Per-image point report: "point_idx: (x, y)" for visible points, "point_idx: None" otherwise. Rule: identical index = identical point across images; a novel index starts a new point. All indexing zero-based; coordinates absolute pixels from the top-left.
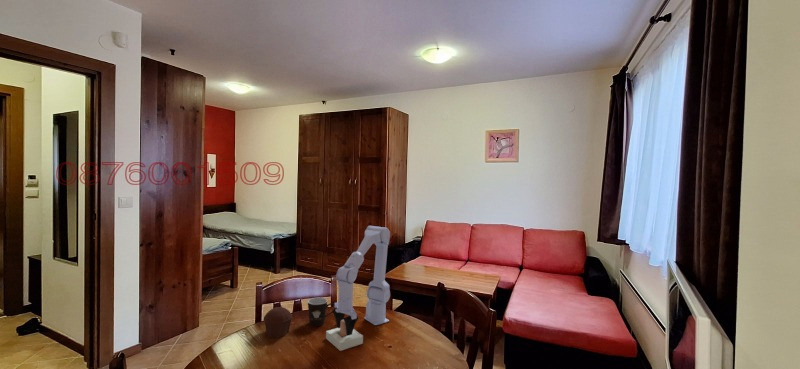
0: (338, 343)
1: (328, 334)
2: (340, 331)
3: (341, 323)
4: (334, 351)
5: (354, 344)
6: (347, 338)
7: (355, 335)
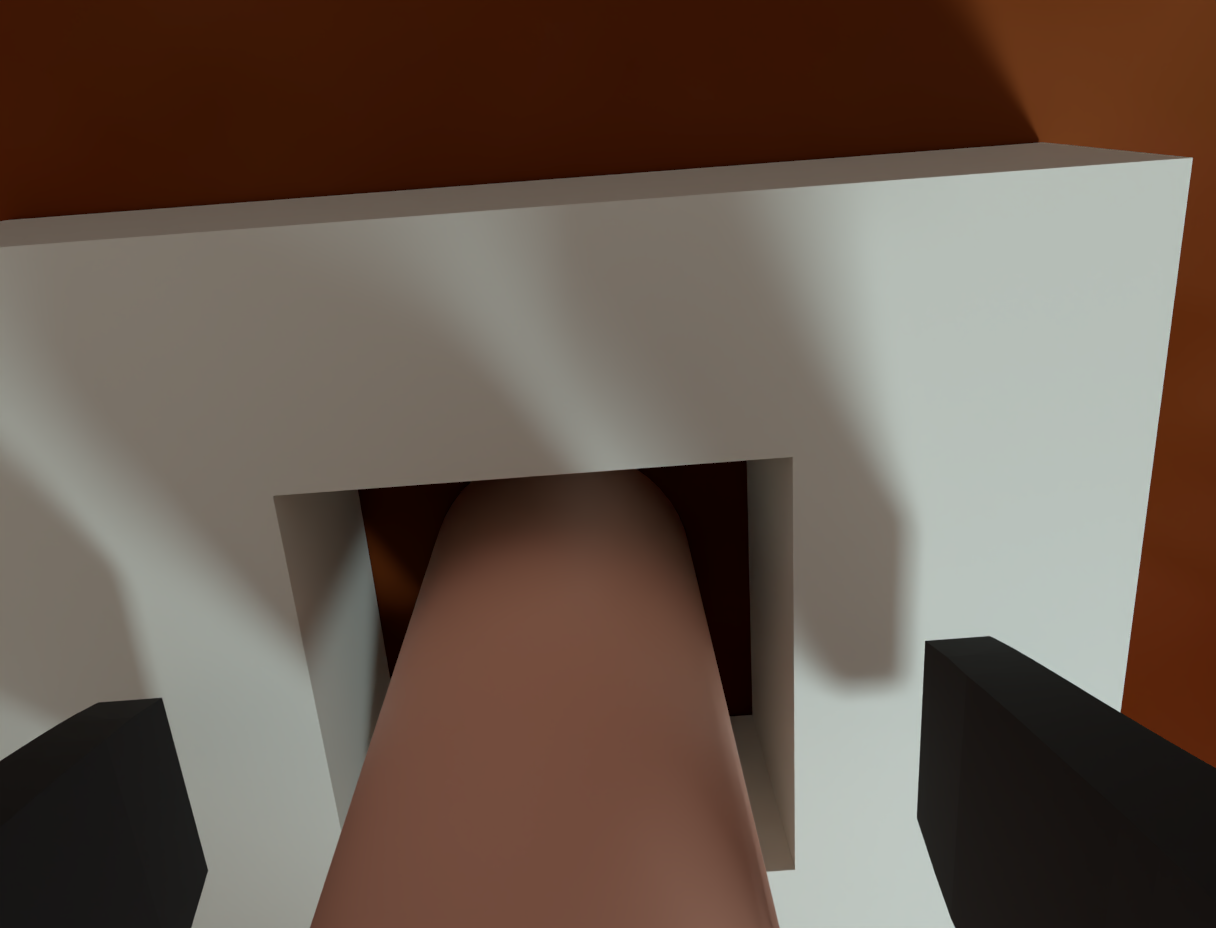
0: (49, 232)
1: (935, 172)
2: (563, 606)
3: (460, 909)
4: (47, 30)
5: None
6: (116, 636)
7: (228, 925)
